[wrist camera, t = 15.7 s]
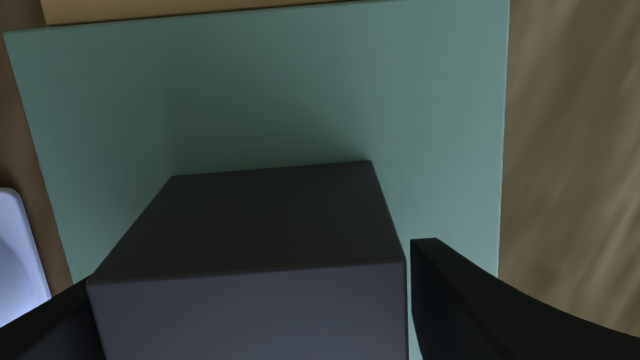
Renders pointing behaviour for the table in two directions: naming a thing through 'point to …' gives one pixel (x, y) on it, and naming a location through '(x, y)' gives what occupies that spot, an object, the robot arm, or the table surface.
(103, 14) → the drawer
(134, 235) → the block
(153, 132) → the cabinet
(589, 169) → the table surface
